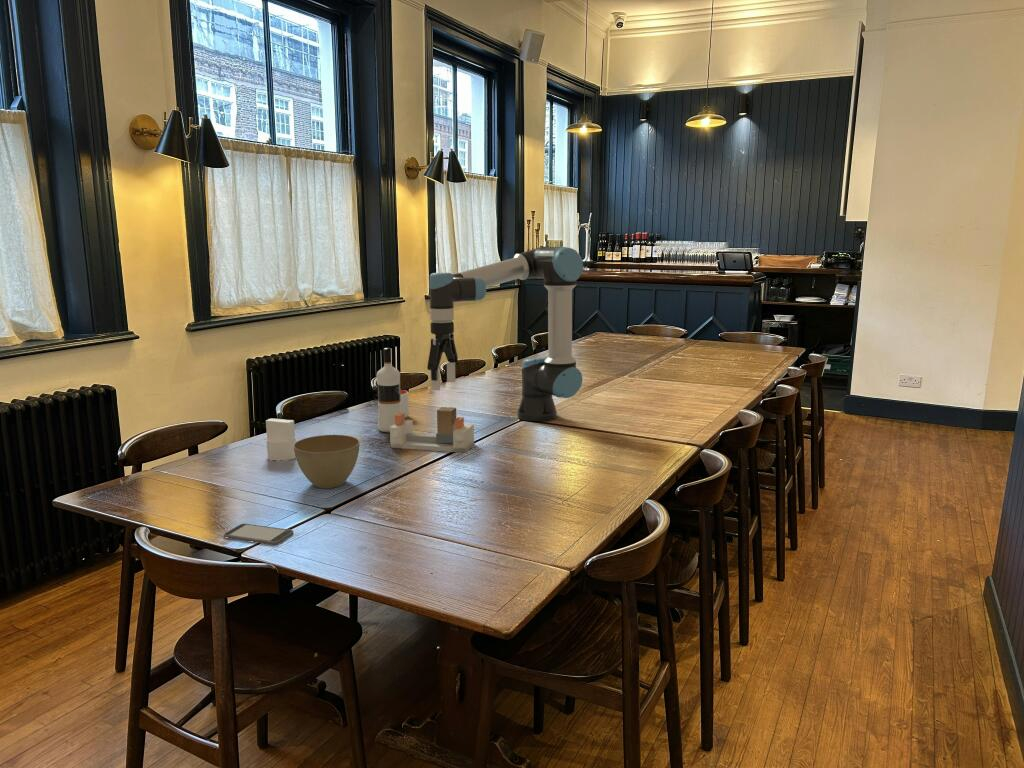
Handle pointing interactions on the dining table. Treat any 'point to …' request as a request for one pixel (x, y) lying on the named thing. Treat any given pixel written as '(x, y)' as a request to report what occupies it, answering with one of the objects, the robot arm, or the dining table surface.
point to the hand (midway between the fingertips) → (443, 385)
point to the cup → (404, 402)
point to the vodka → (388, 393)
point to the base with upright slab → (280, 439)
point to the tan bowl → (327, 458)
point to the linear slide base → (432, 438)
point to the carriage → (445, 424)
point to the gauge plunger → (399, 418)
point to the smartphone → (259, 534)
